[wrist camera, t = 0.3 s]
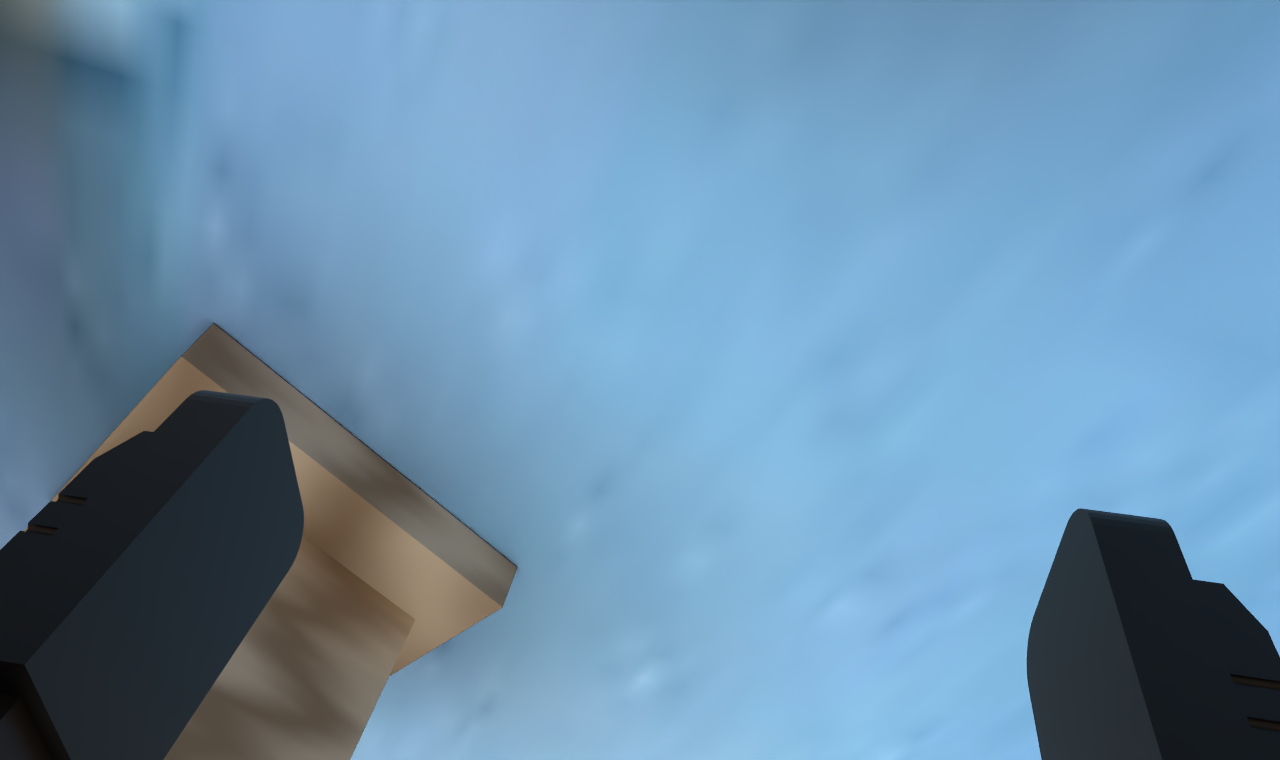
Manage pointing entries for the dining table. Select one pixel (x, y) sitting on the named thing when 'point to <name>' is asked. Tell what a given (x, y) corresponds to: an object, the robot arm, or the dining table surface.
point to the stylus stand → (327, 579)
